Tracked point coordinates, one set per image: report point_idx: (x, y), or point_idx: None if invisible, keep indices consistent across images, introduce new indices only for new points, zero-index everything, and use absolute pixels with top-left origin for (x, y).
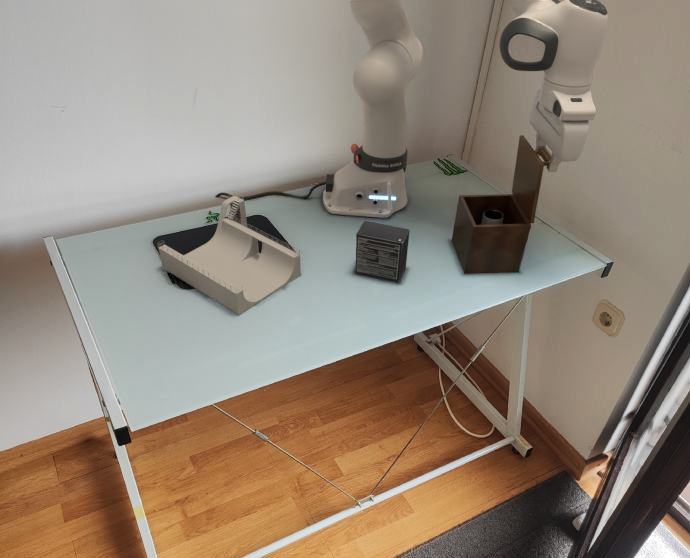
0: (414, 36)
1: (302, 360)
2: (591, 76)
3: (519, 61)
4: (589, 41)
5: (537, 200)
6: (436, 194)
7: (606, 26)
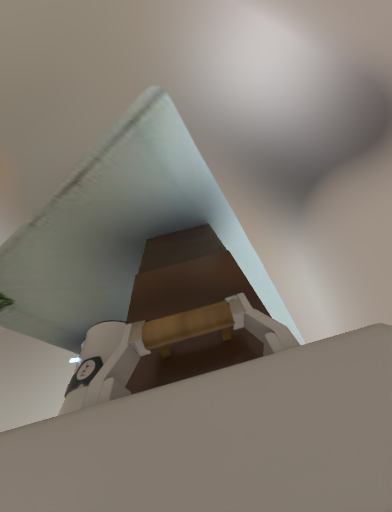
0: None
1: (290, 325)
2: None
3: None
4: None
5: (244, 276)
6: (73, 304)
7: None
